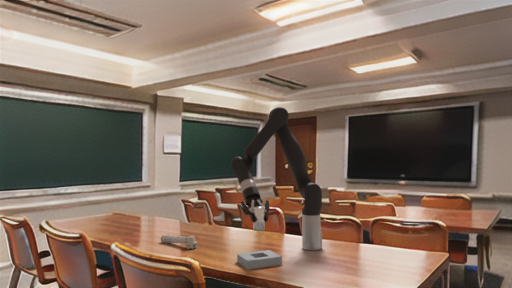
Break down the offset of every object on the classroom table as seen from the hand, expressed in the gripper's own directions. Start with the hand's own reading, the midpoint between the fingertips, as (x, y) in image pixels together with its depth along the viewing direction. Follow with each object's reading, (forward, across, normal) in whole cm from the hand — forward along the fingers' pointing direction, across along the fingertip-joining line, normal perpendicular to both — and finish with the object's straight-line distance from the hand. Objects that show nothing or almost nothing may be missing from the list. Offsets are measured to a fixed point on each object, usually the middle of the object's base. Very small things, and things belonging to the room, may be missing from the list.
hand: (260, 220), depth 154 cm
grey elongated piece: (-21, -25, +49) cm, 59 cm away
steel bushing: (+2, 0, +4) cm, 5 cm away
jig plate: (+12, 0, +14) cm, 19 cm away
